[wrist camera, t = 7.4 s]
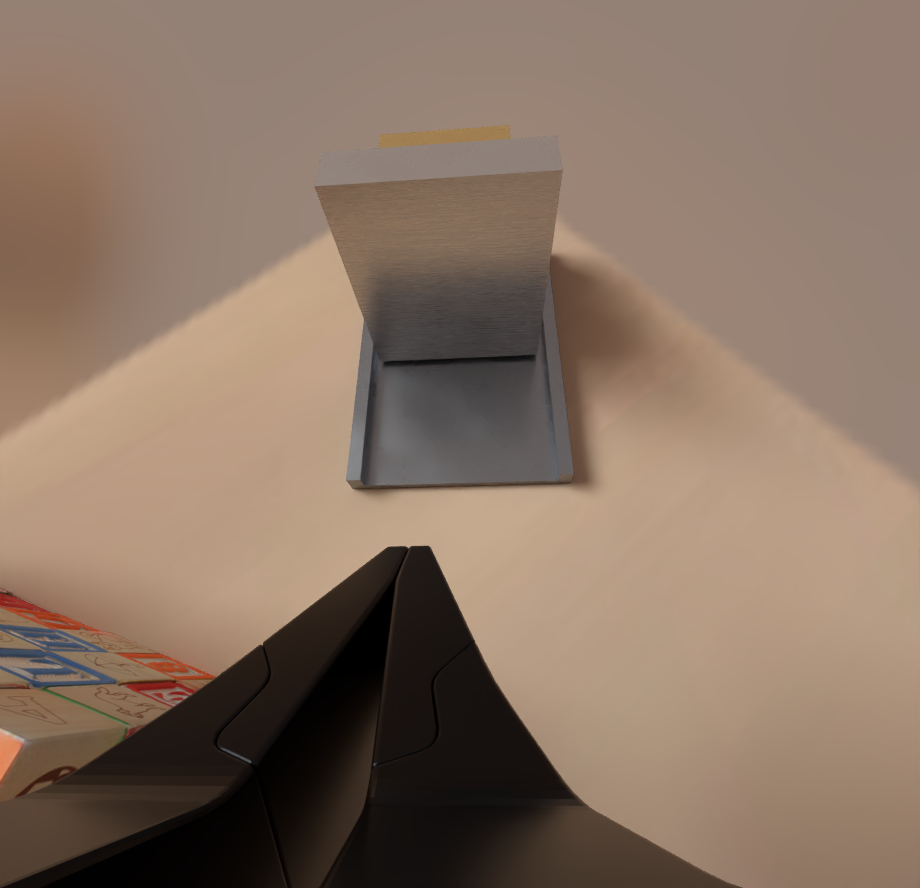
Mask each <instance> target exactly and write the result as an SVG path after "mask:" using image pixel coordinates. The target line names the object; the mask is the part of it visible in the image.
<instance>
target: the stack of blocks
mask: <svg viewBox="0 0 920 888" xmlns="http://www.w3.org/2000/svg"><path fill="white" fill-rule="evenodd" d="M213 679H215V677H214V676H212V675H210V674H207V673H205V672H202V671H200V670H198V669H195V668H193V667H191V666H188V665H186V664H183V663H181V662H178V661H176V660H174V659H171V658H169V657H167V656H164V655H161V654H159V653H157V652H155V651H153V650H151V649H148V648H146V647H144V646H142V645H139V644H137V643H134V642H132V641H130V640H127V639H125V638H122V637H120V636H117V635H115V634H112V633H109V632H100V631H98V630H96V629H93V628H91V627H88V626H85V625H83V624H81V623H78V622H76V621H74V620H71V619H69V618H66V617H64V616H62V615H59V614H53V613H50V612H48V611H46V610H44V609H41V608H39V607H37V606H34V605H32V604H29V603H26V602H24V601H22V600H19V599H17V598H15V597H12V596H9V595H7V591H5V590H3V589H0V802H2V801H6V800H10V799H13V798H16V797H19V796H22V795H25V794H28V793H31V792H33V791H36V790H38V789H40V788H43V787H45V786H47V785H50V784H52V783H54V782H56V781H58V780H60V779H61V778H63V777H65V776H67V775H69V774H71V773H72V772H74V771H76V770H77V769H79V768H80V767H82V766H84V765H85V764H87V763H88V762H90V761H92V760H93V759H95V758H96V757H98V756H99V755H101V754H102V753H104V752H105V751H107V750H108V749H110V748H111V747H113V746H114V745H116V744H117V743H119V742H120V741H122V740H123V739H125V738H126V737H128V736H129V735H131V734H133V733H134V732H136V731H137V730H139V729H140V728H142V727H143V726H145V725H146V724H148V723H149V722H151V721H152V720H154V719H155V718H157V717H158V716H160V715H161V714H163V713H164V712H166V711H167V710H169V709H170V708H172V707H174V706H175V705H177V704H178V703H180V702H181V701H183V700H184V699H185V698H187V697H188V696H190V695H191V694H193V693H194V692H196V691H197V690H199V689H200V688H202V687H203V686H205V685H206V684H207V683H209V682H210V681H212V680H213Z"/></svg>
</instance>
